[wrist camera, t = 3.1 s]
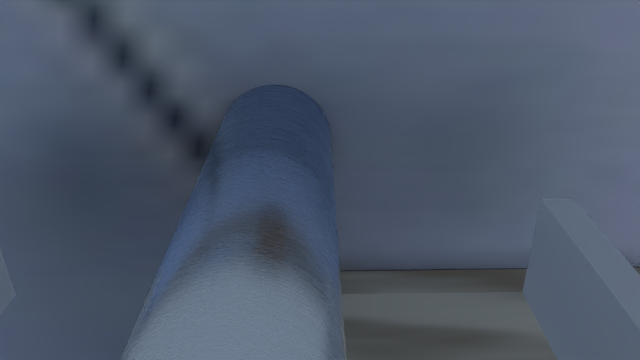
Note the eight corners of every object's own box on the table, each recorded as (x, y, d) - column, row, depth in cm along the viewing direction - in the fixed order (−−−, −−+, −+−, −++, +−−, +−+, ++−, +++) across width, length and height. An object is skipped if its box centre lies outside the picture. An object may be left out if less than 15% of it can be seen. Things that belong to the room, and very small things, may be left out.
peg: (330, 185, 21) (354, 605, 8) (226, 187, 21) (91, 609, 8) (330, 84, 19) (361, 423, 6) (216, 85, 19) (25, 428, 6)
